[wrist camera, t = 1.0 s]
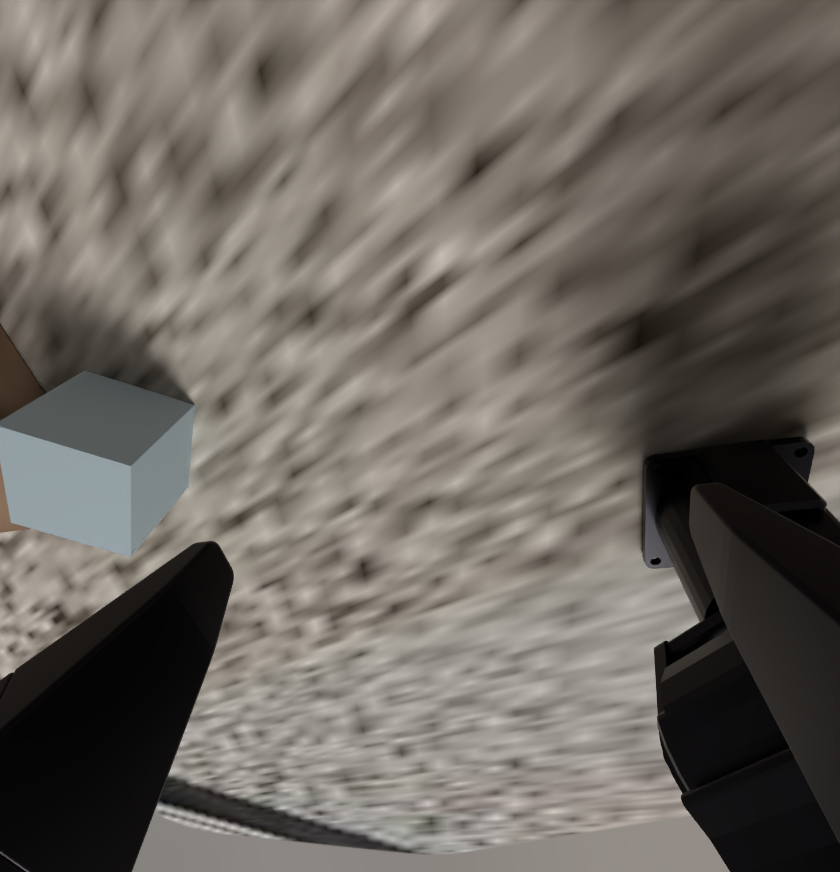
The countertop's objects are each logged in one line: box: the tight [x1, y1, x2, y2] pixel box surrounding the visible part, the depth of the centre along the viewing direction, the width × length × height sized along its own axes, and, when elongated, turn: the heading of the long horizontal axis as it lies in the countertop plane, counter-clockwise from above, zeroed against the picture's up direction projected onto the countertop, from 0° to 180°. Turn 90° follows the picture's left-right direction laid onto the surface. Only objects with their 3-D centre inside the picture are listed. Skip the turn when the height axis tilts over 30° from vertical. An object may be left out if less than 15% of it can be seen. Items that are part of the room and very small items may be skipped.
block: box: [0, 370, 195, 557], centre depth 22 cm, size 5×5×5 cm
